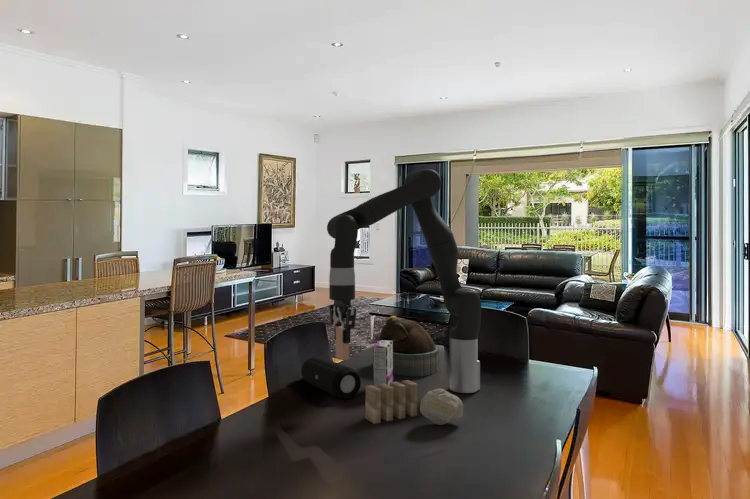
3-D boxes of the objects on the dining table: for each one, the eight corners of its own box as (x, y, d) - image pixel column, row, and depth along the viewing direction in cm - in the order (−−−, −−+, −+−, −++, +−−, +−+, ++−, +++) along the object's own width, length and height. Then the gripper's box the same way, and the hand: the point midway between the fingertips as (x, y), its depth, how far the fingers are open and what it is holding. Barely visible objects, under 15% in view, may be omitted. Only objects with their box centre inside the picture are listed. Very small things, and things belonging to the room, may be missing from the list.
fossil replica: (458, 419, 135) (458, 383, 136) (469, 430, 127) (469, 391, 127) (416, 421, 133) (416, 385, 133) (424, 432, 125) (425, 393, 125)
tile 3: (384, 415, 139) (384, 383, 139) (393, 420, 135) (393, 387, 135) (377, 416, 138) (378, 384, 138) (386, 421, 134) (387, 388, 134)
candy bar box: (379, 387, 167) (379, 339, 168) (393, 388, 166) (393, 340, 167) (372, 397, 156) (372, 345, 157) (387, 398, 155) (387, 346, 156)
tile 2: (395, 412, 141) (396, 381, 141) (405, 417, 137) (405, 385, 137) (390, 413, 140) (390, 382, 140) (399, 419, 136) (399, 386, 136)
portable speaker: (298, 385, 170) (298, 356, 170) (323, 381, 176) (323, 353, 176) (336, 403, 150) (336, 371, 150) (363, 398, 155) (363, 366, 155)
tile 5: (341, 356, 145) (341, 326, 145) (349, 359, 141) (349, 328, 141) (335, 356, 144) (335, 326, 144) (342, 360, 140) (342, 328, 140)
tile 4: (371, 417, 137) (371, 385, 137) (380, 422, 133) (380, 389, 133) (365, 418, 136) (365, 386, 136) (374, 423, 132) (374, 390, 132)
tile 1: (407, 410, 143) (407, 379, 143) (417, 415, 139) (417, 383, 139) (401, 411, 142) (401, 380, 142) (411, 416, 138) (411, 384, 138)
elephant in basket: (372, 367, 197) (372, 313, 197) (432, 366, 200) (432, 312, 200) (378, 382, 174) (378, 321, 174) (446, 380, 177) (447, 320, 177)
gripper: (365, 284, 138) (365, 344, 138) (343, 281, 151) (343, 336, 151) (341, 285, 135) (341, 346, 135) (320, 282, 147) (320, 338, 147)
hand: (342, 341), depth 143 cm, fingers closed on tile 5, 5 cm apart
